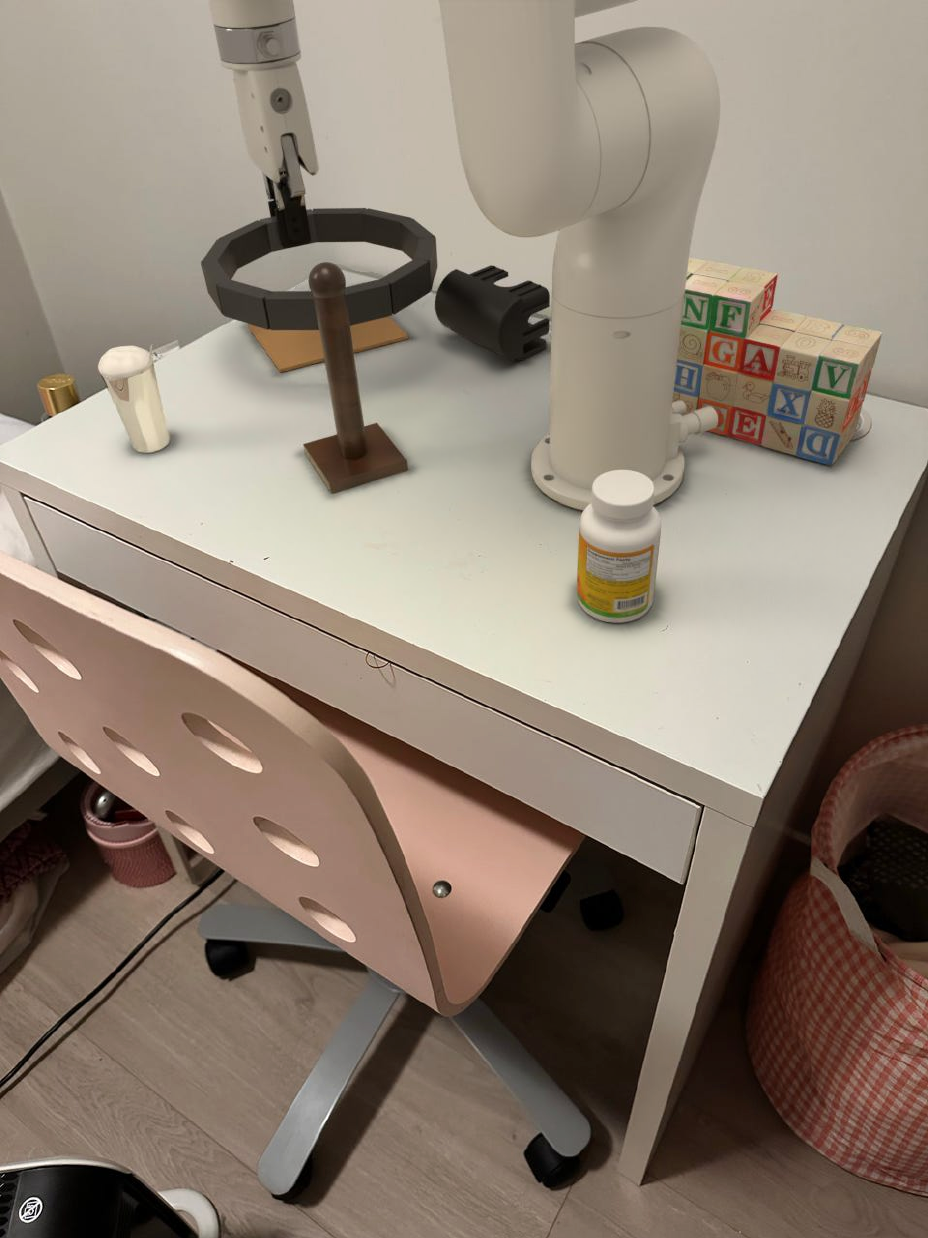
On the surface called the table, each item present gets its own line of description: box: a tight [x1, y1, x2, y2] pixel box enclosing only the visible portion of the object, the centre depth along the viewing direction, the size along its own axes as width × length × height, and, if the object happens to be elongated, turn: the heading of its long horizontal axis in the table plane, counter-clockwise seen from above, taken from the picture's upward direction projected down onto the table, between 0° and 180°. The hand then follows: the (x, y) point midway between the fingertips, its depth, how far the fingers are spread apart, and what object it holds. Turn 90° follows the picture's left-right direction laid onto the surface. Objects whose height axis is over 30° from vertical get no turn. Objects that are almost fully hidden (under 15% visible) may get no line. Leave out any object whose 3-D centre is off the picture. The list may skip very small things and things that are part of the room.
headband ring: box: [200, 207, 438, 330], centre depth 91 cm, size 22×22×3 cm
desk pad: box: [247, 316, 409, 373], centre depth 99 cm, size 14×12×1 cm
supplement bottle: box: [576, 470, 662, 624], centre depth 63 cm, size 5×5×10 cm
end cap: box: [434, 264, 551, 362], centre depth 93 cm, size 10×7×7 cm
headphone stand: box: [302, 261, 409, 494], centre depth 75 cm, size 7×7×17 cm
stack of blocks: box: [672, 256, 883, 466], centre depth 78 cm, size 21×6×12 cm, turn 55°
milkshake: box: [97, 341, 171, 454], centre depth 81 cm, size 4×5×10 cm
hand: (293, 239), depth 99 cm, fingers closed on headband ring
